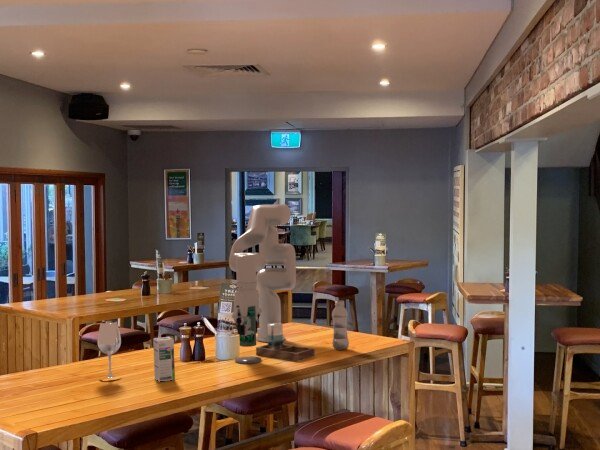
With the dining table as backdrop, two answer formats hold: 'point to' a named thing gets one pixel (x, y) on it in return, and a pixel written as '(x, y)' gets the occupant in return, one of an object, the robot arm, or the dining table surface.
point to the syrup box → (164, 359)
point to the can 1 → (249, 329)
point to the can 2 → (275, 336)
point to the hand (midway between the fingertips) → (247, 332)
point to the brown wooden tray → (287, 352)
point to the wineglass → (109, 340)
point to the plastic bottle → (340, 326)
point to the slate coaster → (248, 360)
